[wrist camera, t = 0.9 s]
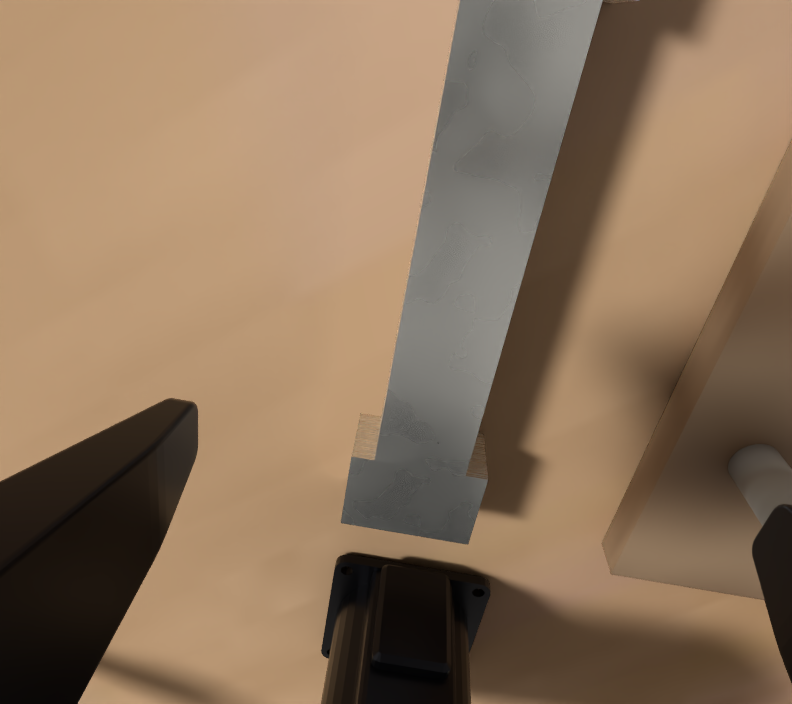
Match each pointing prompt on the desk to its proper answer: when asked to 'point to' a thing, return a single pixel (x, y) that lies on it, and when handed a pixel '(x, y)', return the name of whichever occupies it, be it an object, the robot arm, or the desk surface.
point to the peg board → (721, 428)
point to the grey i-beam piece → (468, 261)
